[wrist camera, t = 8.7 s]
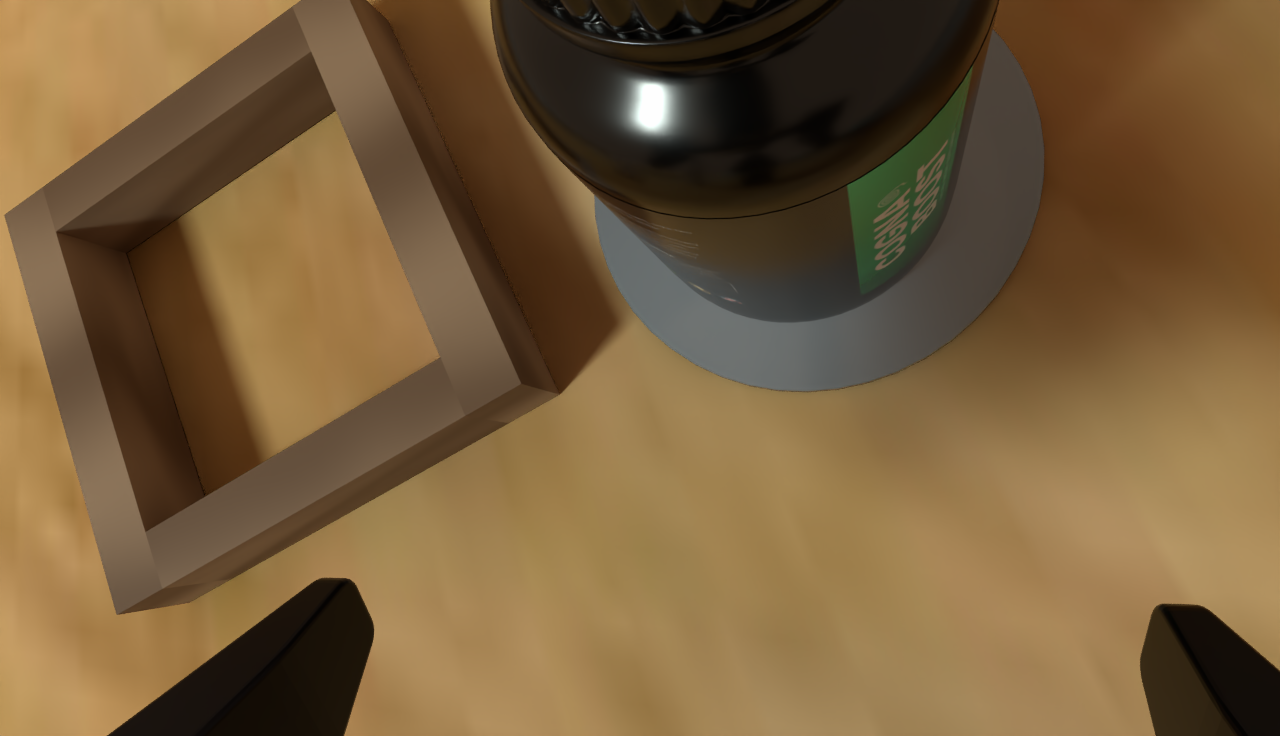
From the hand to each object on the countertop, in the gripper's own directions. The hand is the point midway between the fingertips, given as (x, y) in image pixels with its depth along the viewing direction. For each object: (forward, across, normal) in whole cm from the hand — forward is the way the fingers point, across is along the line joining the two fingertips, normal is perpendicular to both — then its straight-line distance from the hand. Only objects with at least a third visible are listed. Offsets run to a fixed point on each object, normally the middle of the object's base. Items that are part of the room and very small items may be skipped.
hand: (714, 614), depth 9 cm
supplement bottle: (+12, -1, -1) cm, 12 cm away
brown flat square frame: (+12, +13, +2) cm, 18 cm away
